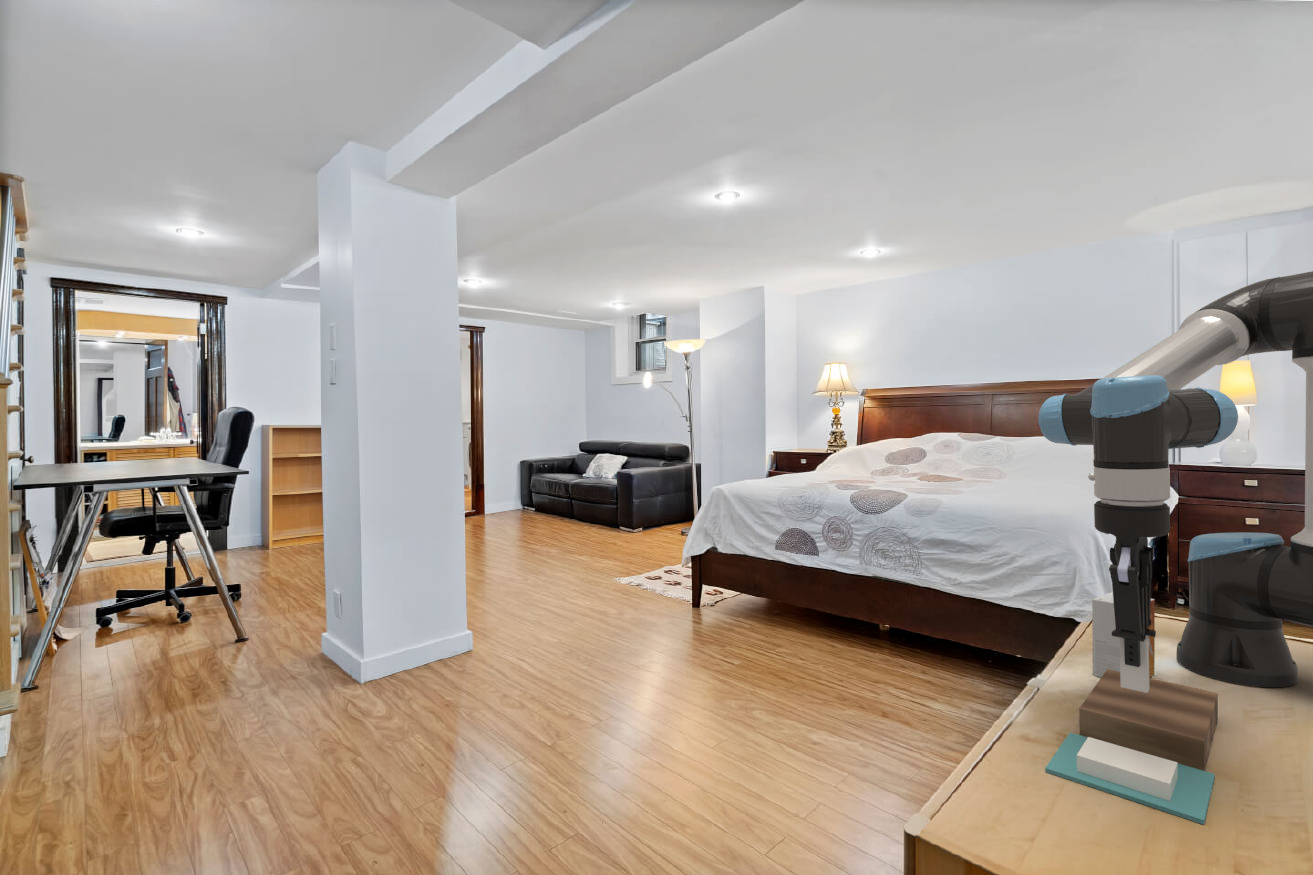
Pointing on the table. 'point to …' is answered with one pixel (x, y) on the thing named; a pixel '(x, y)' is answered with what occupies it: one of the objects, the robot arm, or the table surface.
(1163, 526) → the robot arm
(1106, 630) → the small box
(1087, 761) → the tile
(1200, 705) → the board
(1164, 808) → the teal mat
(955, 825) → the table surface
